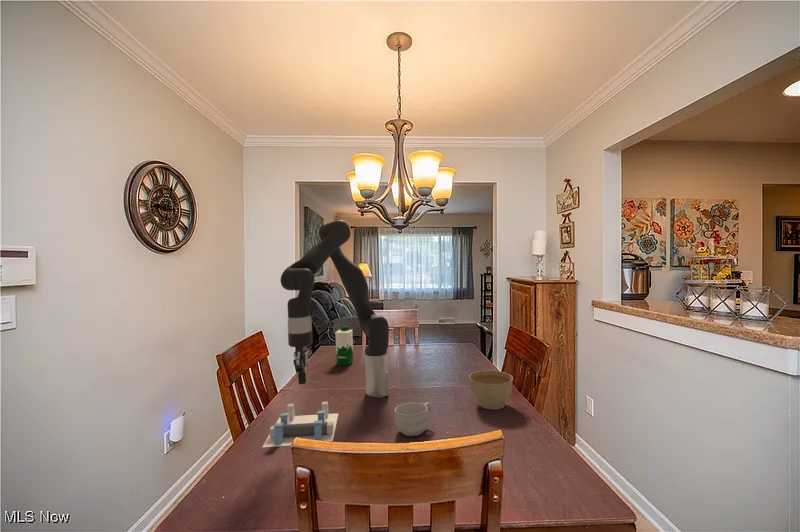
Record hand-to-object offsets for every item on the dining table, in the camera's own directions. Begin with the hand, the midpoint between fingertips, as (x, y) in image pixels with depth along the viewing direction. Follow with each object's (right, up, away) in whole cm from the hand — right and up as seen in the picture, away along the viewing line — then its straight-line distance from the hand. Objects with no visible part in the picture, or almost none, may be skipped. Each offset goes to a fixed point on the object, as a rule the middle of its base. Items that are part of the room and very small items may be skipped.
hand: (302, 383), depth 116 cm
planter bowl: (+66, -15, +20) cm, 71 cm away
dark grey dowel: (0, -16, -1) cm, 16 cm away
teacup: (+37, -16, +2) cm, 40 cm away
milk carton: (+1, -16, +82) cm, 83 cm away
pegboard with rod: (0, -17, +3) cm, 17 cm away
